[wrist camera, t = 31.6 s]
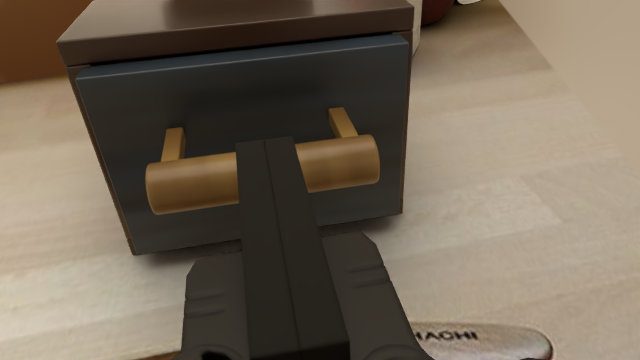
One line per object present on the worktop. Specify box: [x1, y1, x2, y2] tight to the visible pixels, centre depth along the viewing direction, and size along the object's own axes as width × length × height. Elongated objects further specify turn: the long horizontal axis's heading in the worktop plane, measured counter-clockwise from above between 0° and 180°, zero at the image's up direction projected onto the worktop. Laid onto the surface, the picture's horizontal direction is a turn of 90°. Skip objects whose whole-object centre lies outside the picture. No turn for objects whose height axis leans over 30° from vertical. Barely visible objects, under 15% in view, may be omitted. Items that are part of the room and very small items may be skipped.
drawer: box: [75, 34, 409, 255], centre depth 22 cm, size 18×12×8 cm, turn 11°
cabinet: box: [56, 0, 415, 255], centre depth 26 cm, size 15×13×10 cm
